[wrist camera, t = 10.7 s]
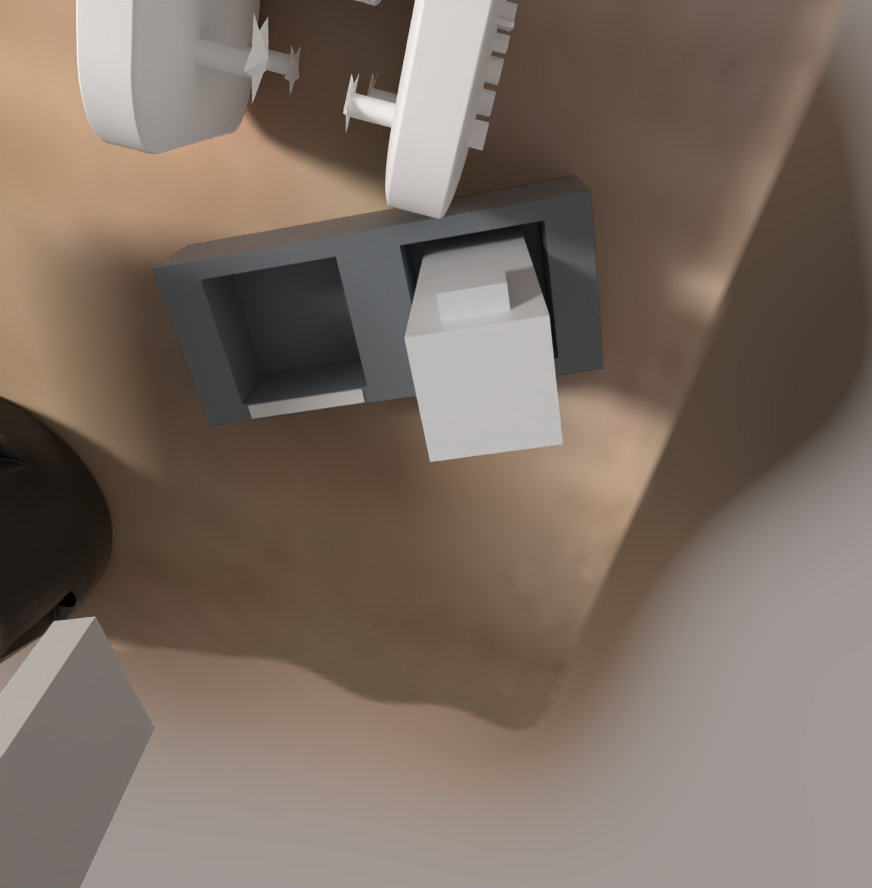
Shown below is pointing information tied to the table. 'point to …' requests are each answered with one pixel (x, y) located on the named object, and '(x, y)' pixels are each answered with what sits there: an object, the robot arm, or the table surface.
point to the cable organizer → (246, 59)
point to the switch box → (360, 300)
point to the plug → (482, 348)
